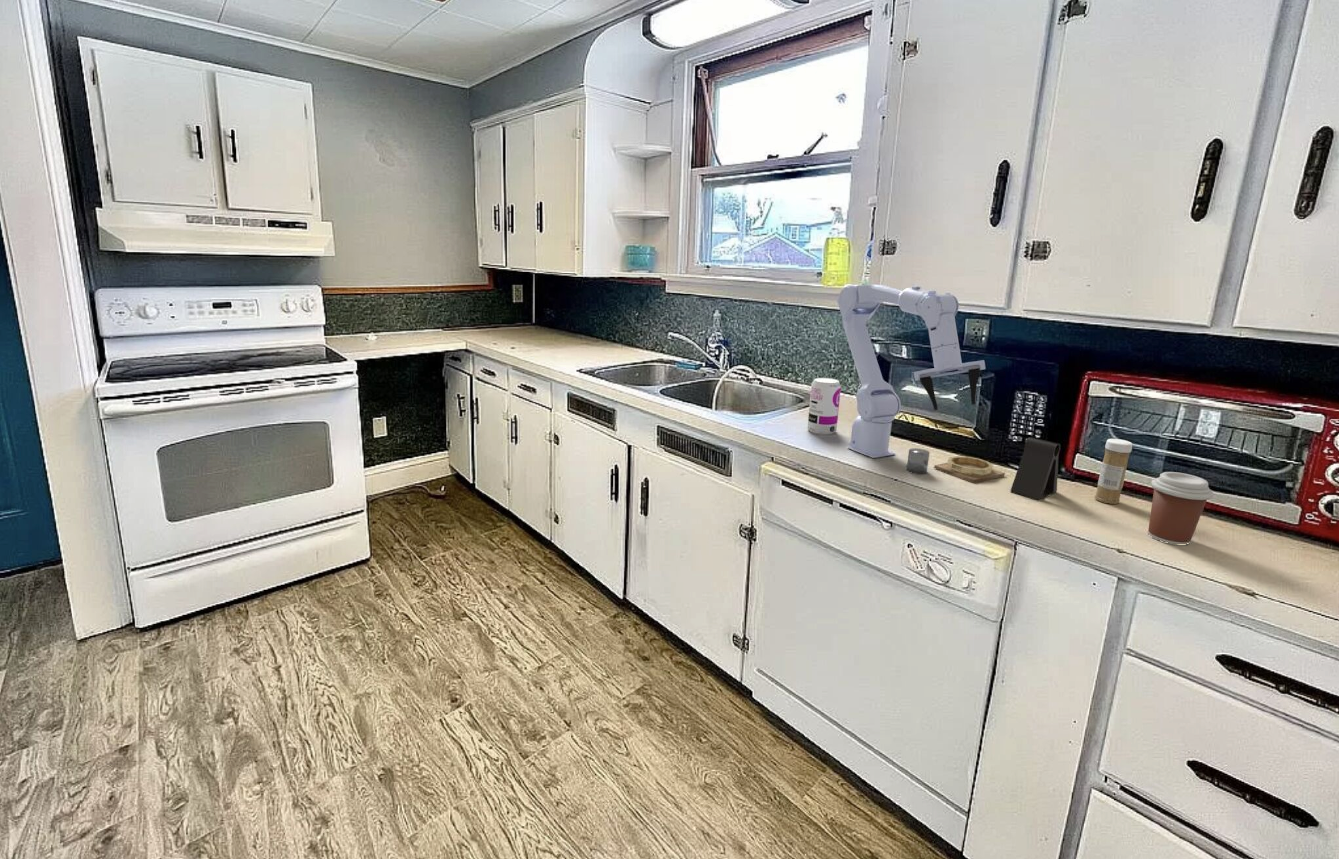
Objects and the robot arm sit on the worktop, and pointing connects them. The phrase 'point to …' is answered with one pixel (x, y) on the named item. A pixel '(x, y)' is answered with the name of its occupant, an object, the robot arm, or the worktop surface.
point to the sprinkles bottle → (1113, 470)
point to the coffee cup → (1177, 506)
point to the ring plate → (969, 478)
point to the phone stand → (1037, 469)
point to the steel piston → (917, 461)
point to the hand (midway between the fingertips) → (954, 407)
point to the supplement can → (824, 406)
